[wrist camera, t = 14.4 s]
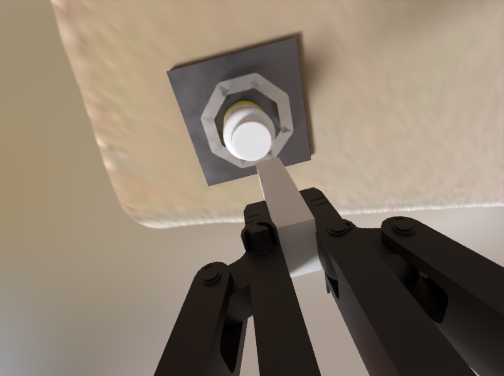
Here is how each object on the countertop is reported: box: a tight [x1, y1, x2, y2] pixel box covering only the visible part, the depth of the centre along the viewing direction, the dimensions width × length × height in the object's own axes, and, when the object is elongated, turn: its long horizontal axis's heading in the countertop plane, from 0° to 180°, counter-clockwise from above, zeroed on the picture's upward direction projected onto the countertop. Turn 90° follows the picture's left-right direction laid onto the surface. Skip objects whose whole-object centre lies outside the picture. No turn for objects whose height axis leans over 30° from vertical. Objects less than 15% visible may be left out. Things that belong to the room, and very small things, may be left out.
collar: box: [167, 37, 311, 186], centre depth 31 cm, size 16×16×4 cm
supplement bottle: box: [223, 100, 275, 161], centre depth 27 cm, size 6×6×10 cm
